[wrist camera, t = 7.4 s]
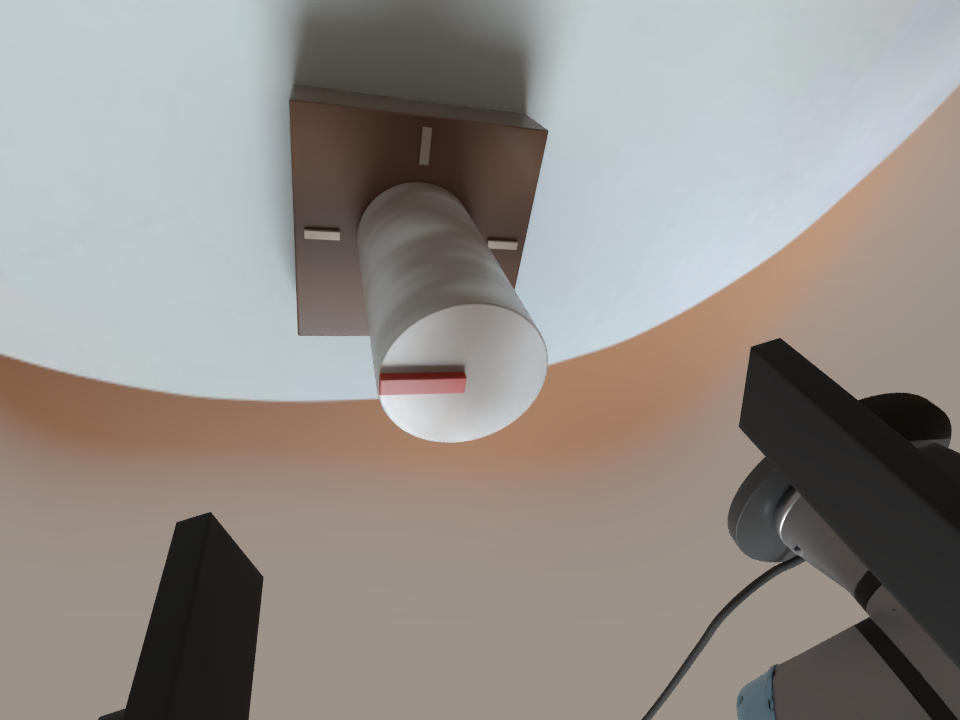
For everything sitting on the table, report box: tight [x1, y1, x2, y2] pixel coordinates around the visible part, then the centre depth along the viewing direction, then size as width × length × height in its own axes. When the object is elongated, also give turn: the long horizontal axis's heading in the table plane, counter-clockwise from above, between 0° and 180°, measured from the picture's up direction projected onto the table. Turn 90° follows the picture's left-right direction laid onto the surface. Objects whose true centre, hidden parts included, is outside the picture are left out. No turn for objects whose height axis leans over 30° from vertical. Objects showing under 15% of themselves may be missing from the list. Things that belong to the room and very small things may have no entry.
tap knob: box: [357, 182, 548, 443], centre depth 19 cm, size 5×5×10 cm
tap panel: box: [289, 85, 548, 336], centre depth 24 cm, size 10×10×3 cm
